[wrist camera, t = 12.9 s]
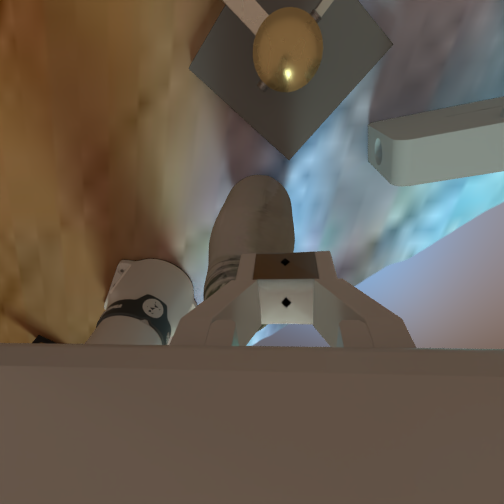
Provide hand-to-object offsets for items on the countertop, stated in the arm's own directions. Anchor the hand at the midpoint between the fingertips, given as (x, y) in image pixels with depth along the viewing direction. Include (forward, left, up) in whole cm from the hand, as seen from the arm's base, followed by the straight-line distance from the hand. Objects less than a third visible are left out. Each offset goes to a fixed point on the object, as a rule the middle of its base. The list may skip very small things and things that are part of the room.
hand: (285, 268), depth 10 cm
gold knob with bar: (+6, +10, -31) cm, 33 cm away
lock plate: (+6, +5, -37) cm, 38 cm away
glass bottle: (-11, -5, -37) cm, 39 cm away
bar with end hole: (+15, -18, -38) cm, 44 cm away
